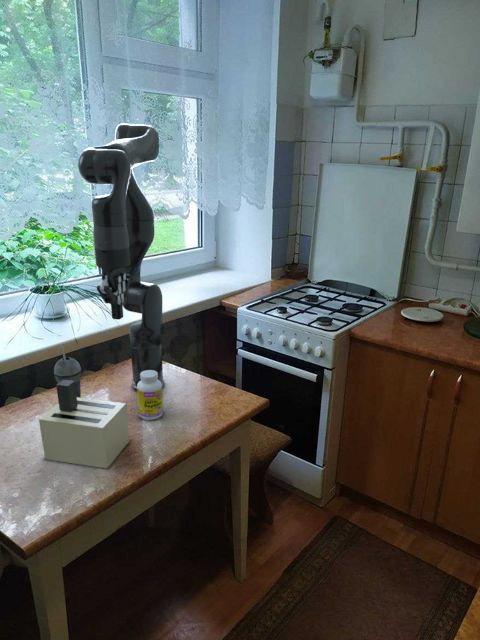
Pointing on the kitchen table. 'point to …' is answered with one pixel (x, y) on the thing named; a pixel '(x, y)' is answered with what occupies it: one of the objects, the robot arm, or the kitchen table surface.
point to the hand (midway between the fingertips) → (117, 318)
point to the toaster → (85, 432)
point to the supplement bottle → (149, 395)
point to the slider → (67, 395)
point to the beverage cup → (68, 371)
